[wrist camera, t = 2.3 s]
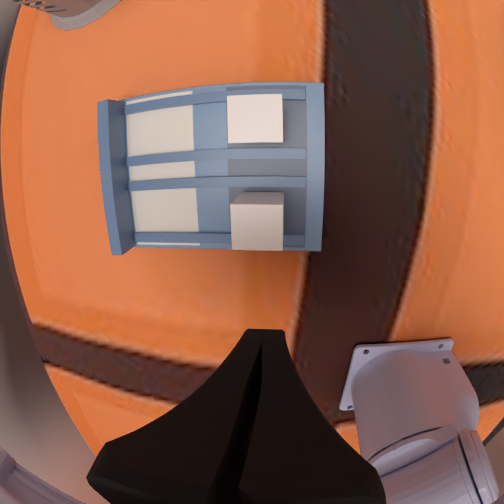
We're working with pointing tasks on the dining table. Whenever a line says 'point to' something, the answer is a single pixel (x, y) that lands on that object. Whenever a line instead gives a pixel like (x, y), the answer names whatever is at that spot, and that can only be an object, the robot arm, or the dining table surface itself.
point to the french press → (72, 11)
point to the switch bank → (207, 166)
